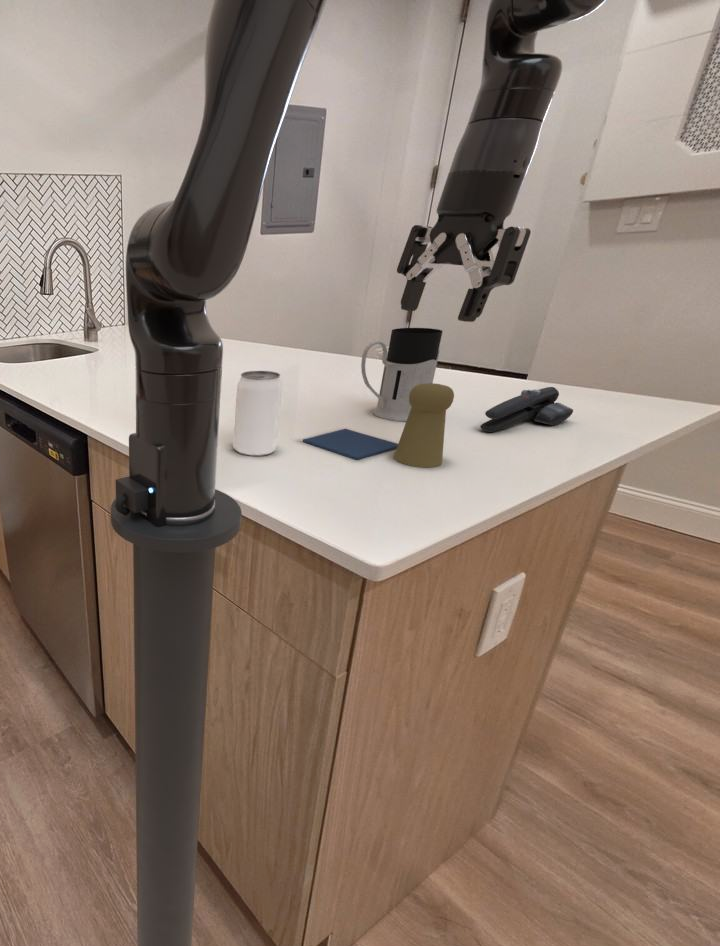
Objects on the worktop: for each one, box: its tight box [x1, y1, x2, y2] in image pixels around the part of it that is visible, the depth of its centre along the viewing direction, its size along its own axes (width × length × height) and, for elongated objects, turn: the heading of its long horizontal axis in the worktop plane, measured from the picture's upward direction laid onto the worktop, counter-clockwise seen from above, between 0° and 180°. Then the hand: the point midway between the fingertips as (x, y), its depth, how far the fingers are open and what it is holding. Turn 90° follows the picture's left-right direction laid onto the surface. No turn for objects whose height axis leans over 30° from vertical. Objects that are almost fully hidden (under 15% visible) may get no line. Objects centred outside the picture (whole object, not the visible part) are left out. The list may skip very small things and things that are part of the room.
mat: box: [302, 428, 398, 461], centre depth 83 cm, size 10×10×1 cm
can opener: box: [479, 386, 574, 433], centre depth 86 cm, size 18×7×6 cm, turn 111°
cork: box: [393, 382, 455, 468], centre depth 73 cm, size 6×6×11 cm
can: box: [232, 370, 283, 457], centre depth 80 cm, size 6×6×12 cm
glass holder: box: [360, 327, 443, 422], centre depth 92 cm, size 9×14×15 cm, turn 102°
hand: (435, 315), depth 67 cm, fingers open, 8 cm apart
